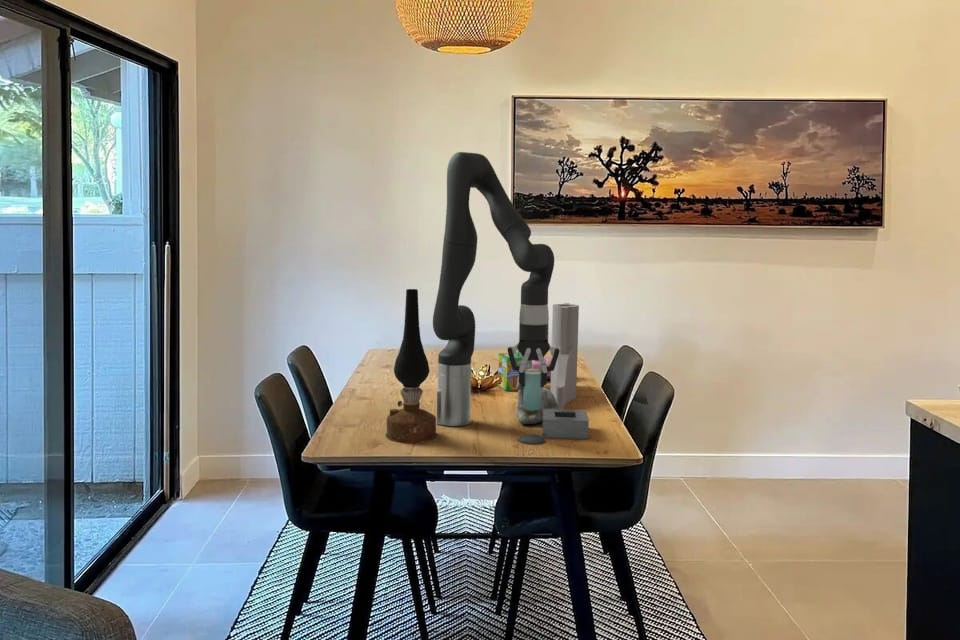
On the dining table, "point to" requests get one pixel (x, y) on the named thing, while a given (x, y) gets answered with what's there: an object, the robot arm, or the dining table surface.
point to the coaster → (531, 439)
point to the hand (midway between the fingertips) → (532, 386)
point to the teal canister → (532, 389)
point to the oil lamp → (411, 383)
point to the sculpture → (534, 415)
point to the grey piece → (565, 352)
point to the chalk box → (510, 370)
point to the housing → (565, 424)
